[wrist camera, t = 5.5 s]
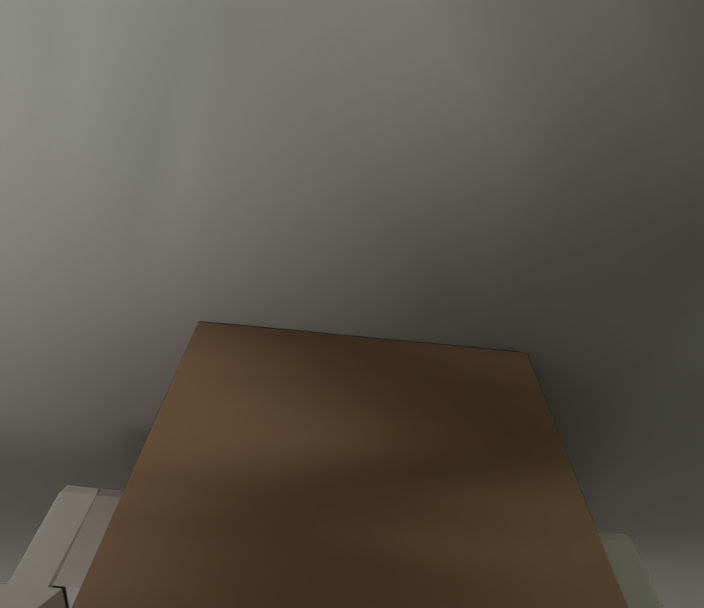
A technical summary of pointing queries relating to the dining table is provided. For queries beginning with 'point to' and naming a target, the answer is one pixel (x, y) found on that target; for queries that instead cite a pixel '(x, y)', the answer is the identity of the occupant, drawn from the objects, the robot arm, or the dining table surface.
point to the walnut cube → (350, 483)
